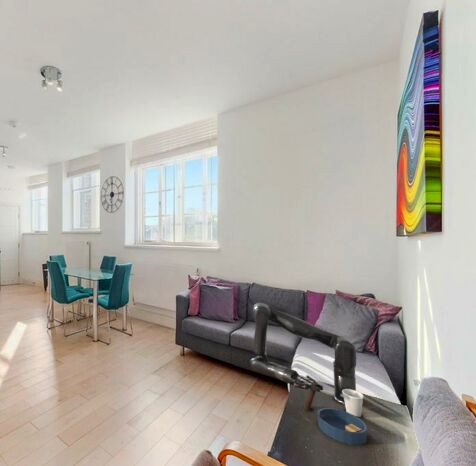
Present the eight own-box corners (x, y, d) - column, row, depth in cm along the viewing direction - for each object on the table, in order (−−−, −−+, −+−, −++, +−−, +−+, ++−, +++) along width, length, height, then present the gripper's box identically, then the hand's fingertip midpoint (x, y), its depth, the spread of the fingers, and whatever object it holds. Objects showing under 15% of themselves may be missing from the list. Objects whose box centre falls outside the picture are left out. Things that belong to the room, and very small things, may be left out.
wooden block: (352, 432, 123) (351, 423, 123) (362, 438, 120) (361, 429, 120) (345, 435, 122) (345, 425, 122) (355, 441, 118) (355, 431, 118)
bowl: (329, 415, 137) (328, 403, 137) (374, 436, 122) (373, 423, 122) (310, 427, 128) (310, 415, 128) (356, 452, 113) (355, 438, 113)
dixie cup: (339, 411, 139) (338, 391, 139) (347, 406, 143) (346, 387, 143) (360, 421, 132) (358, 399, 132) (368, 415, 136) (367, 394, 136)
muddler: (305, 403, 145) (313, 379, 141) (312, 408, 142) (321, 384, 138) (302, 406, 142) (310, 381, 139) (309, 411, 140) (317, 386, 136)
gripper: (278, 371, 148) (313, 385, 133) (293, 364, 155) (328, 377, 140) (278, 385, 148) (314, 401, 133) (293, 378, 155) (328, 392, 140)
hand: (321, 389), depth 137 cm, fingers closed on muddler, 2 cm apart
